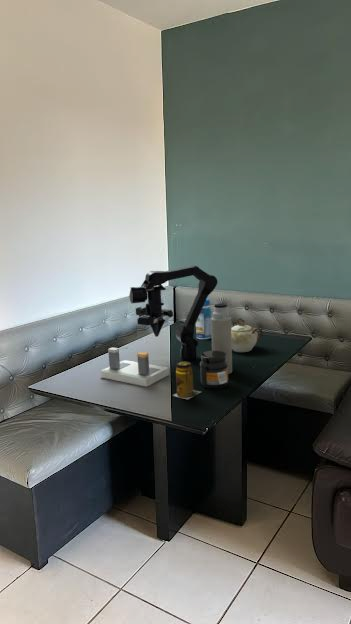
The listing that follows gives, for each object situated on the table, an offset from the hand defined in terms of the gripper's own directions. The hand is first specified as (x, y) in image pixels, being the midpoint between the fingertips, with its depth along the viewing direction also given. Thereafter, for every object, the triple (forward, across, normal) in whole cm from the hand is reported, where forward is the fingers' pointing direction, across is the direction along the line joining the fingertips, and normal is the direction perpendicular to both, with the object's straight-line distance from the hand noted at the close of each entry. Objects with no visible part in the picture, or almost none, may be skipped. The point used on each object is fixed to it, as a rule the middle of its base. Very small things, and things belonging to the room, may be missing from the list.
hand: (156, 336), depth 214 cm
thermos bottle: (+12, -3, +30) cm, 33 cm away
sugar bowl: (+12, -33, +24) cm, 43 cm away
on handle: (+8, +21, -6) cm, 24 cm away
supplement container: (+12, +12, +35) cm, 39 cm away
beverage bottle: (+12, -44, -3) cm, 46 cm away
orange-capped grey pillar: (+8, +22, +9) cm, 25 cm away
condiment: (+12, +25, +31) cm, 41 cm away
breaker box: (+12, +18, +1) cm, 22 cm away
